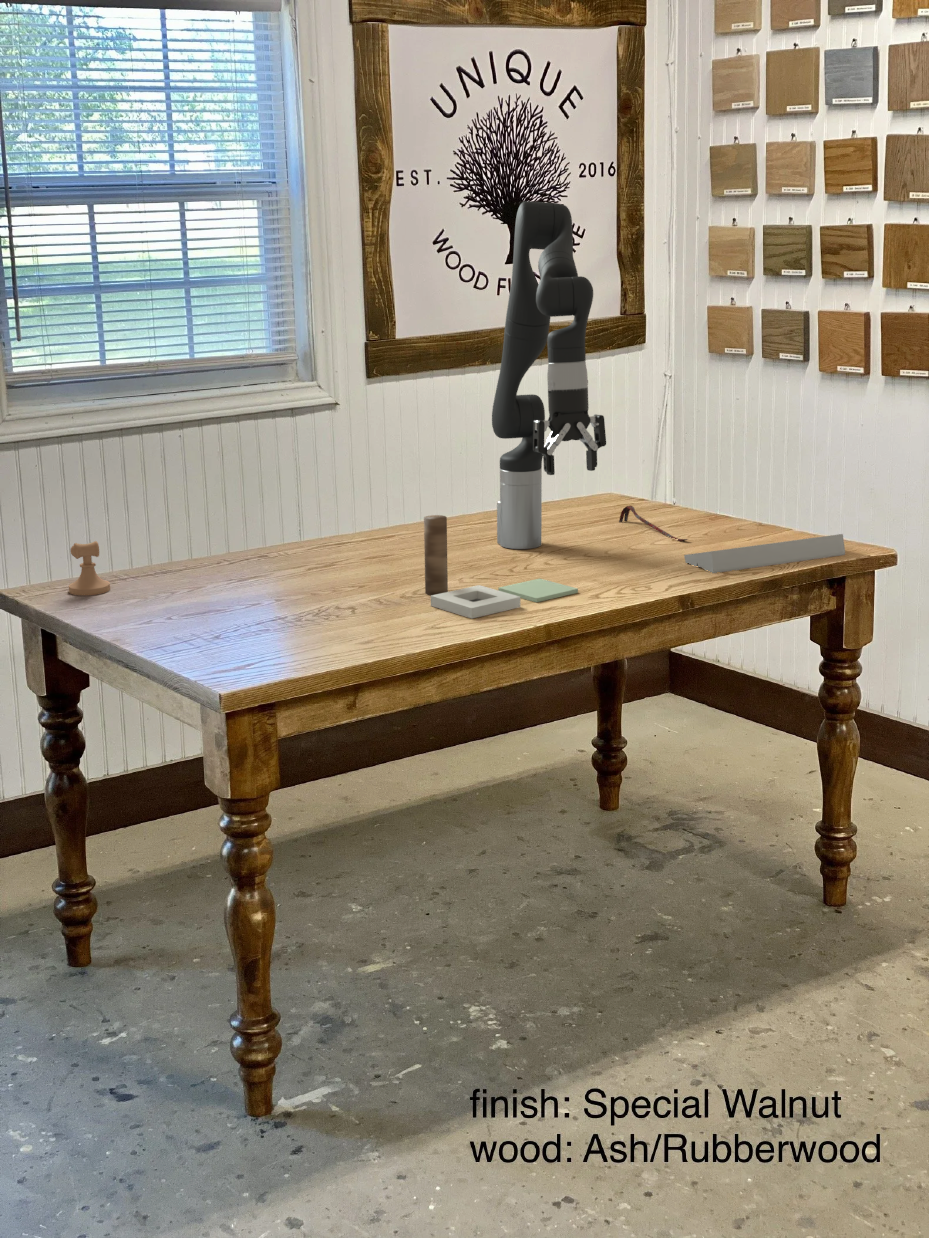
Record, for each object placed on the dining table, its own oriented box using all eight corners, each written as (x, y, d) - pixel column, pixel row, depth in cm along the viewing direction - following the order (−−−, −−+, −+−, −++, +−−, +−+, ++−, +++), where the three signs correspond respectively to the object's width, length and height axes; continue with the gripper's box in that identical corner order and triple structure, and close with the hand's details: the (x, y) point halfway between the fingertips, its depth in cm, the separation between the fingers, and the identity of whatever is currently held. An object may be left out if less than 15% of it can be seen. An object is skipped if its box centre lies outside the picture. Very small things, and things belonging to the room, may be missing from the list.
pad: (498, 591, 284) (498, 587, 284) (539, 582, 291) (539, 578, 291) (536, 602, 276) (536, 598, 276) (578, 592, 283) (578, 588, 283)
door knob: (109, 544, 284) (68, 548, 281) (113, 592, 287) (72, 597, 284) (102, 536, 291) (62, 540, 288) (106, 583, 294) (66, 588, 291)
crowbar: (618, 523, 346) (620, 503, 345) (626, 522, 347) (628, 502, 346) (679, 559, 325) (682, 538, 323) (688, 558, 326) (690, 537, 324)
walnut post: (420, 592, 284) (419, 517, 280) (438, 588, 287) (437, 514, 283) (434, 596, 281) (433, 520, 277) (452, 592, 284) (451, 517, 280)
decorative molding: (686, 577, 306) (714, 574, 296) (683, 555, 305) (711, 551, 296) (815, 559, 320) (845, 556, 311) (813, 537, 320) (842, 533, 311)
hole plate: (430, 605, 275) (430, 595, 274) (479, 595, 282) (479, 585, 281) (471, 618, 266) (471, 608, 265) (520, 607, 273) (520, 596, 272)
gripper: (592, 382, 278) (595, 467, 282) (524, 388, 273) (528, 474, 277) (610, 384, 271) (613, 471, 275) (541, 390, 266) (545, 478, 270)
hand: (570, 472), depth 276 cm, fingers open, 8 cm apart
